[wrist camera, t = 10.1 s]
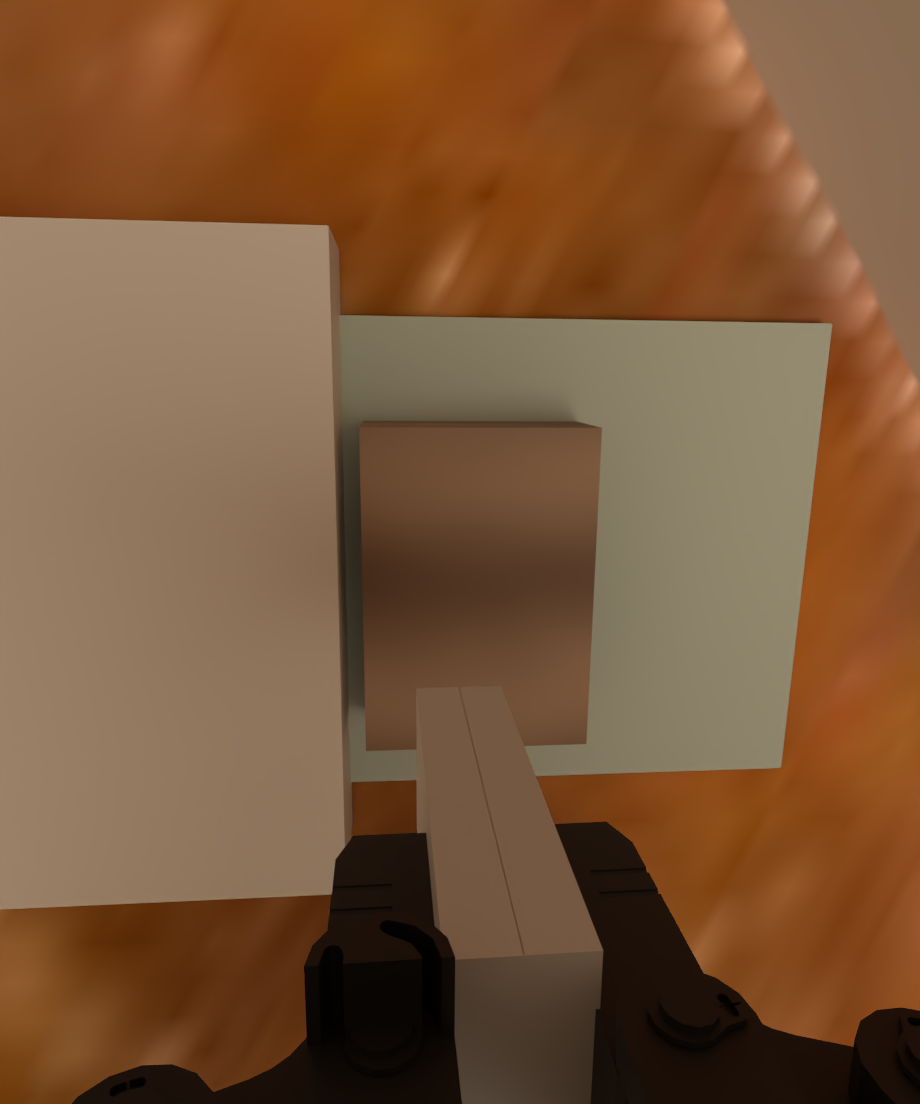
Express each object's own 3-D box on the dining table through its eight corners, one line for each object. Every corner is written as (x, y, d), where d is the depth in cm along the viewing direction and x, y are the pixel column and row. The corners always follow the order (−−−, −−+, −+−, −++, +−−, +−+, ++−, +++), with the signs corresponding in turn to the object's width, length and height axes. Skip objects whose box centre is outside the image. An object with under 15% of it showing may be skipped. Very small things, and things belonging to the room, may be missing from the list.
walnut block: (565, 704, 27) (586, 744, 24) (369, 710, 27) (366, 750, 24) (578, 421, 25) (602, 427, 22) (363, 420, 24) (359, 427, 22)
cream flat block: (352, 822, 28) (346, 894, 24) (-164, 842, 27) (-258, 921, 23) (339, 249, 24) (328, 225, 20) (-283, 234, 22) (-425, 205, 18)
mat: (773, 760, 29) (780, 767, 29) (351, 773, 28) (350, 782, 27) (822, 324, 26) (832, 323, 25) (340, 316, 24) (339, 315, 24)
